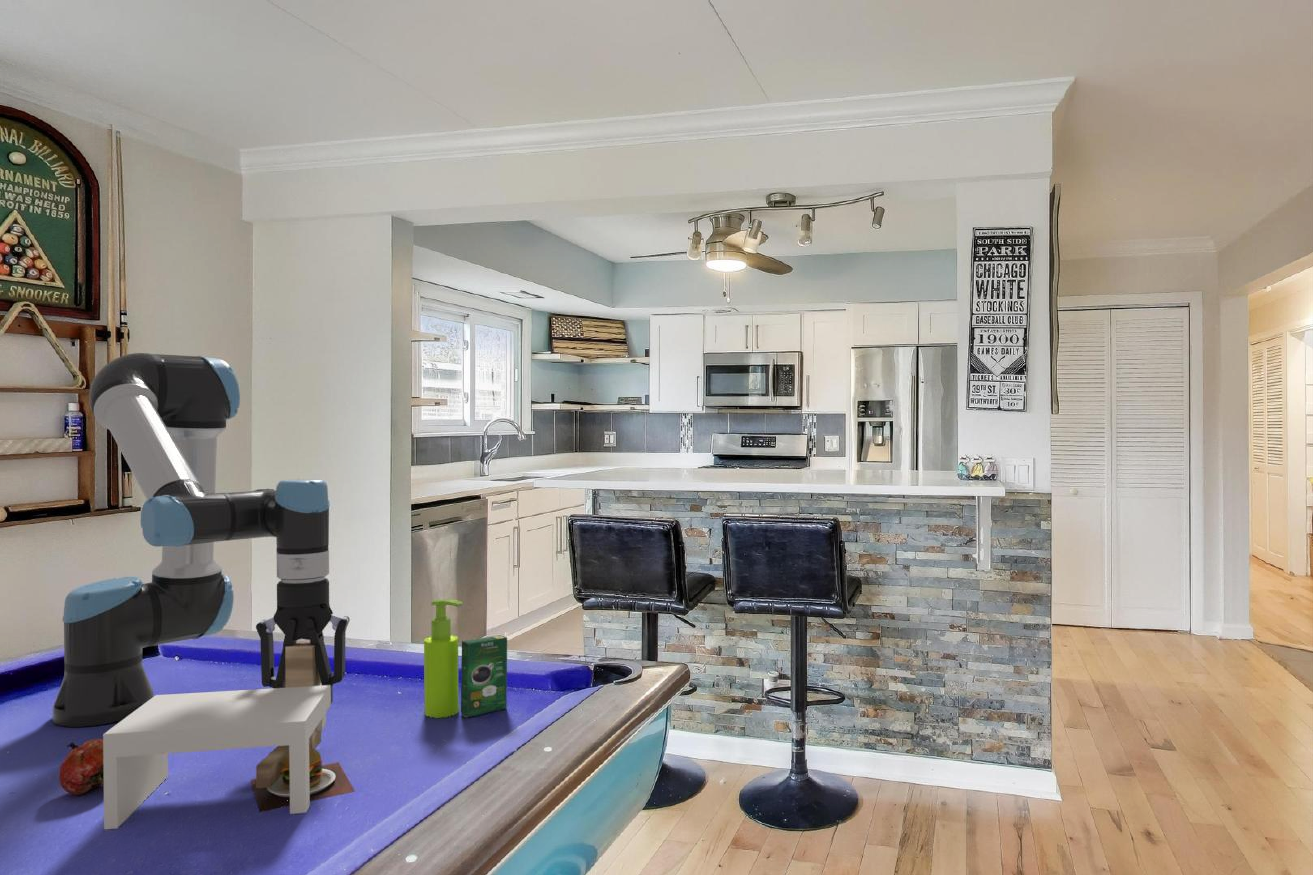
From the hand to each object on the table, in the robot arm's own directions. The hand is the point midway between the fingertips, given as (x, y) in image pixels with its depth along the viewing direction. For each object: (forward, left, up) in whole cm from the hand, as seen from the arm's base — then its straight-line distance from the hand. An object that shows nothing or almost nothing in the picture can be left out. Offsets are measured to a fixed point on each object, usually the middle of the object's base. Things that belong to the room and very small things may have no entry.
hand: (304, 728), depth 130 cm
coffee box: (-14, +27, -4) cm, 31 cm away
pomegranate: (+9, -26, -4) cm, 28 cm away
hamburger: (+13, +3, -4) cm, 14 cm away
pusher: (+7, -1, -3) cm, 8 cm away
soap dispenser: (-15, +20, -4) cm, 25 cm away
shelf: (+14, -7, -4) cm, 16 cm away
